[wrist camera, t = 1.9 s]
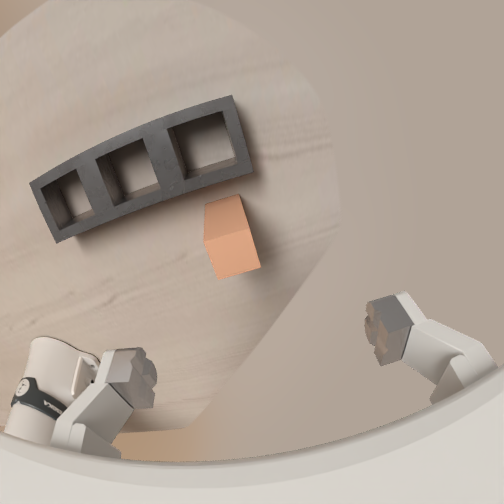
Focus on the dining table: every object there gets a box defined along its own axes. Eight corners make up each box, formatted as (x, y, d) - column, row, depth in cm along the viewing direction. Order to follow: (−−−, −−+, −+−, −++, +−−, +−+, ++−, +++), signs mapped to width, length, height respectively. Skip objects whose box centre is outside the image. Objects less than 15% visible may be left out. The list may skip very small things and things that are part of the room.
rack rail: (248, 164, 31) (253, 172, 28) (69, 229, 31) (56, 243, 28) (229, 97, 27) (231, 94, 24) (45, 174, 27) (29, 183, 24)
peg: (247, 224, 35) (261, 267, 26) (215, 234, 35) (218, 279, 26) (238, 193, 33) (249, 228, 24) (205, 204, 33) (203, 241, 24)
